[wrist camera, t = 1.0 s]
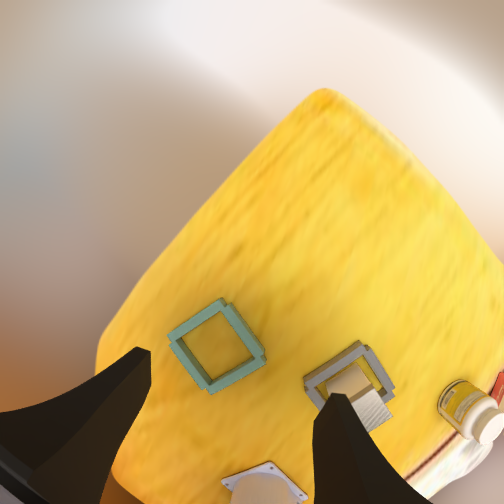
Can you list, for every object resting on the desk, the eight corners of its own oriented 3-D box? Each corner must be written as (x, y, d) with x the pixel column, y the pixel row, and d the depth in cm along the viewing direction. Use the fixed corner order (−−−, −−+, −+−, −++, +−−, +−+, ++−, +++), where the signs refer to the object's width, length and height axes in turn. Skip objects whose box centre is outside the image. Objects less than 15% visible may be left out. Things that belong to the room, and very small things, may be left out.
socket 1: (270, 356, 28) (269, 361, 27) (210, 391, 29) (207, 397, 27) (225, 294, 29) (222, 296, 28) (168, 333, 30) (163, 337, 28)
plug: (373, 387, 27) (392, 416, 20) (342, 407, 27) (354, 440, 20) (356, 361, 27) (374, 387, 20) (324, 382, 28) (333, 414, 21)
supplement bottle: (468, 404, 25) (506, 435, 15) (436, 421, 26) (470, 459, 16) (469, 371, 25) (513, 398, 16) (436, 388, 26) (476, 423, 16)
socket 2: (394, 388, 27) (398, 393, 25) (335, 426, 27) (337, 433, 26) (362, 337, 27) (366, 341, 26) (299, 379, 28) (300, 385, 26)
